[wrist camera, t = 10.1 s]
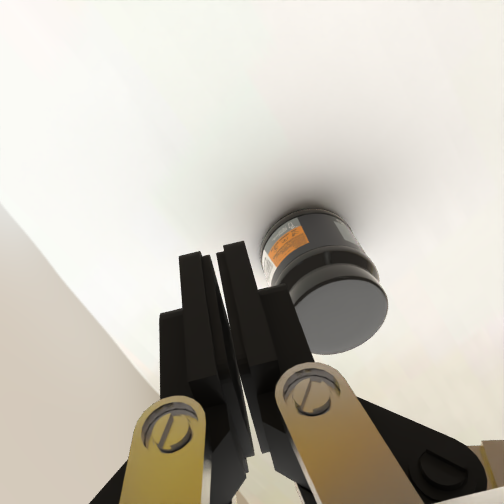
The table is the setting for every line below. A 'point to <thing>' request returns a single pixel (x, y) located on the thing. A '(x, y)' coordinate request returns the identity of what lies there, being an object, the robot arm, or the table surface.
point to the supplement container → (325, 279)
